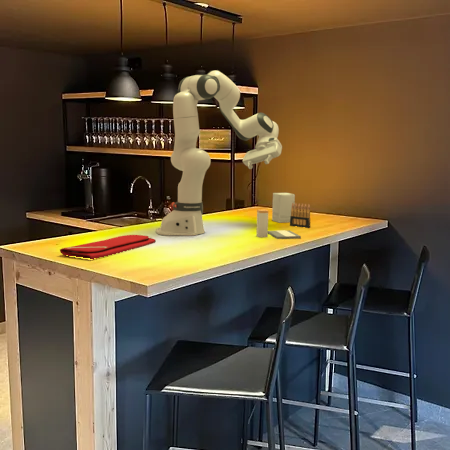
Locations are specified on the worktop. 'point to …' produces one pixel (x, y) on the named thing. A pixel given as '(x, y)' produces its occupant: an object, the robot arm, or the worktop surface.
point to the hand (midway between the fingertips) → (258, 165)
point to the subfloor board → (284, 234)
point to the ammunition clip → (300, 216)
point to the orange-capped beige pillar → (262, 223)
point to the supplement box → (282, 206)
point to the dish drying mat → (108, 246)
